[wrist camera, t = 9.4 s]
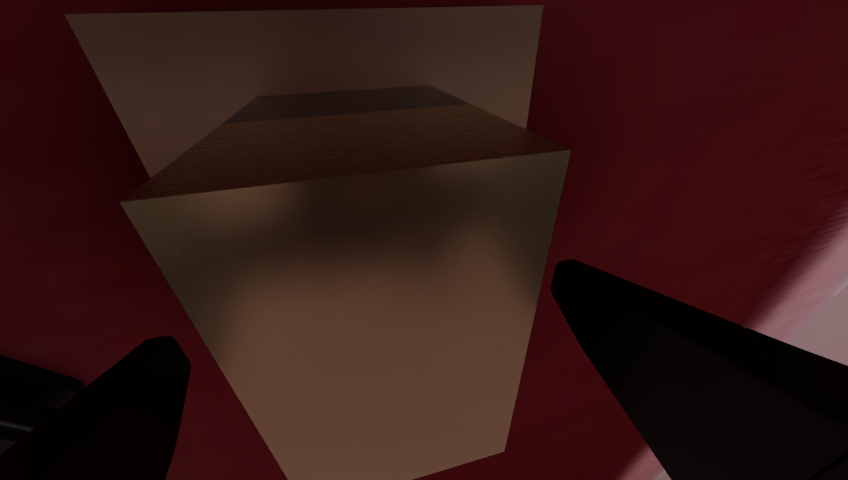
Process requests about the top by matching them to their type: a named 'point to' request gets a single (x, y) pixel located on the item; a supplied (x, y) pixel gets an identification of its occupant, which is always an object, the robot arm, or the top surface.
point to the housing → (362, 271)
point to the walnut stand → (299, 62)
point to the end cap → (29, 397)
